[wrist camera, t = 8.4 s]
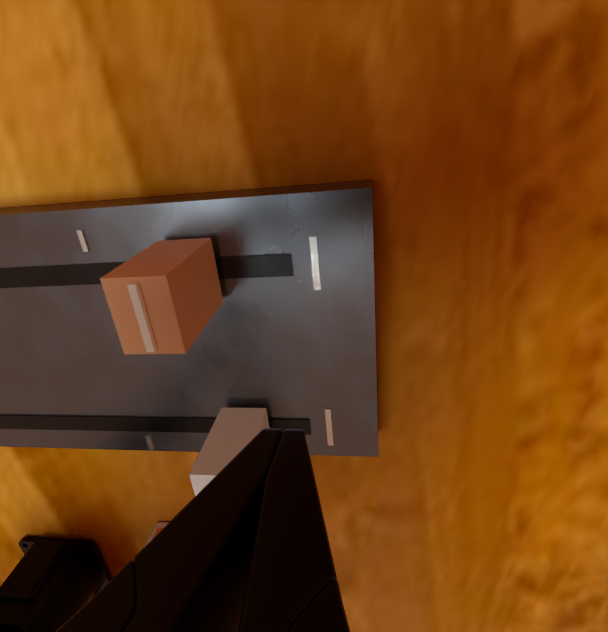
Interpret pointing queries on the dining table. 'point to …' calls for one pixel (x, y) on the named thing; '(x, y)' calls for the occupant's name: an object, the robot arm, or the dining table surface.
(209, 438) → the white fader
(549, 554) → the dining table surface
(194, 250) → the orange fader
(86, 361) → the console
